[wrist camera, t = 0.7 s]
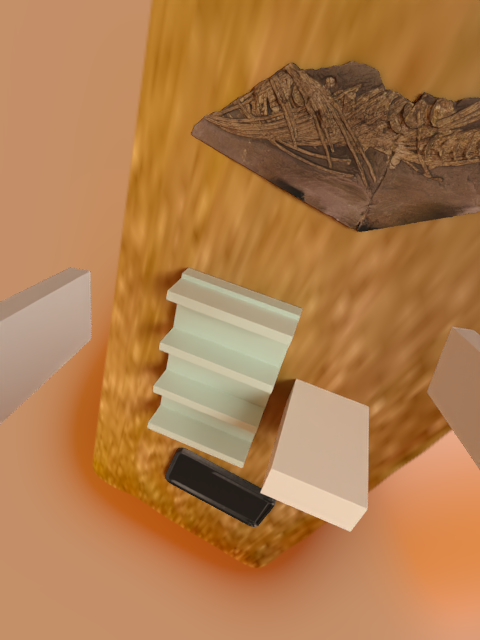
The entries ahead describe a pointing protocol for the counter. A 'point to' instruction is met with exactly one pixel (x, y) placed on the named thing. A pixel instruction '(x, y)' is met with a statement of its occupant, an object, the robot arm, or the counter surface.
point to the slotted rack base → (220, 364)
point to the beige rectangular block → (321, 456)
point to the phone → (218, 487)
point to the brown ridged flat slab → (354, 145)
